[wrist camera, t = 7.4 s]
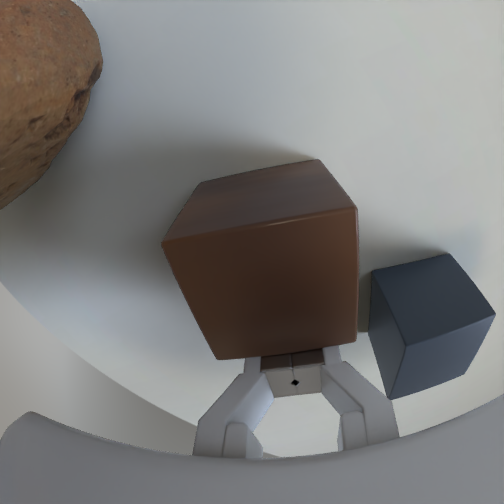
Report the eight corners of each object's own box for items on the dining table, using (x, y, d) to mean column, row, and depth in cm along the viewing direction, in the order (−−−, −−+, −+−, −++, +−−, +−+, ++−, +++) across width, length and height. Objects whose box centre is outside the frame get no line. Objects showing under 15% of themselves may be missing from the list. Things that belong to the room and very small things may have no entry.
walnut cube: (230, 278, 12) (216, 361, 8) (198, 182, 10) (158, 243, 6) (331, 261, 11) (357, 342, 8) (320, 158, 9) (358, 206, 5)
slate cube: (367, 333, 14) (387, 401, 10) (371, 270, 11) (405, 346, 8) (435, 315, 13) (464, 374, 9) (449, 252, 11) (496, 313, 7)
